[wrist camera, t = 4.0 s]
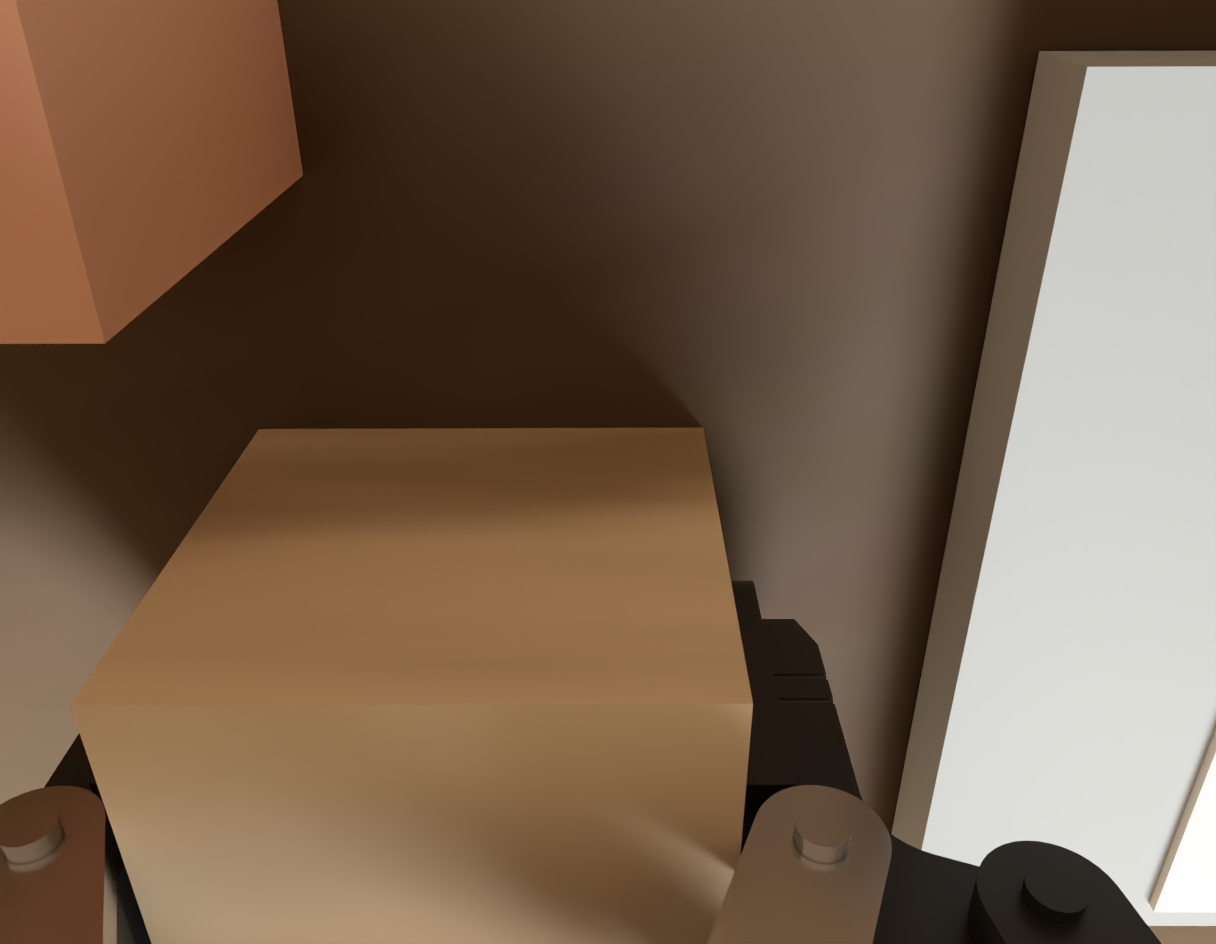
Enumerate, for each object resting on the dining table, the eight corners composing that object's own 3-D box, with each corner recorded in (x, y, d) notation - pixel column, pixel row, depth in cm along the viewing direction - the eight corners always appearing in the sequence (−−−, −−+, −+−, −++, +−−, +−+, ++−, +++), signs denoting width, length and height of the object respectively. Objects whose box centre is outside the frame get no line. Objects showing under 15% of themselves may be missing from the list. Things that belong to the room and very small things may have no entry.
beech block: (259, 429, 13) (69, 705, 8) (702, 427, 12) (753, 703, 8) (321, 757, 15) (204, 1099, 11) (688, 756, 15) (720, 1098, 11)
